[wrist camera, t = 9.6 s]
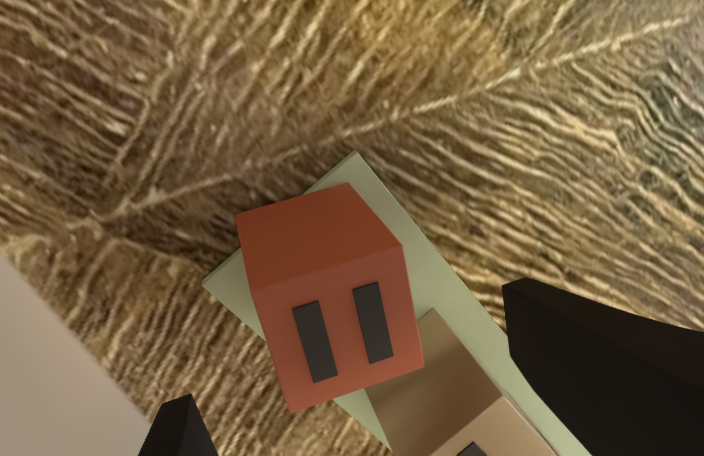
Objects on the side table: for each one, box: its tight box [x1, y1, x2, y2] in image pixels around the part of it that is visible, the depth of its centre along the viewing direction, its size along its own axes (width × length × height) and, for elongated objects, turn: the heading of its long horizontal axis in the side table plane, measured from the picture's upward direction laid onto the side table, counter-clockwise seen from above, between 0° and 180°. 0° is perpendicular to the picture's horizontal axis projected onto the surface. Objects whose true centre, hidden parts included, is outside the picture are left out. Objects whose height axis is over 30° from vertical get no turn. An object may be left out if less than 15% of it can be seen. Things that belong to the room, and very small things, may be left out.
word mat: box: [202, 150, 592, 456], centre depth 24 cm, size 7×23×1 cm, turn 38°
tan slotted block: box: [364, 308, 557, 456], centre depth 21 cm, size 4×4×6 cm
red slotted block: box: [235, 182, 424, 413], centre depth 17 cm, size 4×4×6 cm
